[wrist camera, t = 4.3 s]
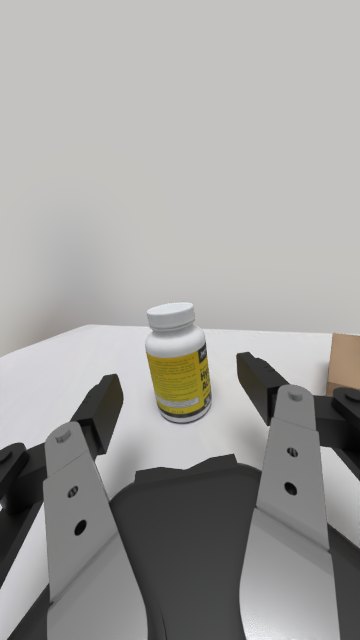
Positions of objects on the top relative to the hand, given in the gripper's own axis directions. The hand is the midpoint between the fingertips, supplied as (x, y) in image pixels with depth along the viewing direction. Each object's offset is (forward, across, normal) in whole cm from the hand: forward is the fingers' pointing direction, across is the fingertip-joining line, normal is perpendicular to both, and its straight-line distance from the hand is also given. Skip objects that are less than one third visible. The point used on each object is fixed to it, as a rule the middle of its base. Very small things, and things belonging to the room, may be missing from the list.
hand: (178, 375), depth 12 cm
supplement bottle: (+4, 0, +6) cm, 8 cm away
